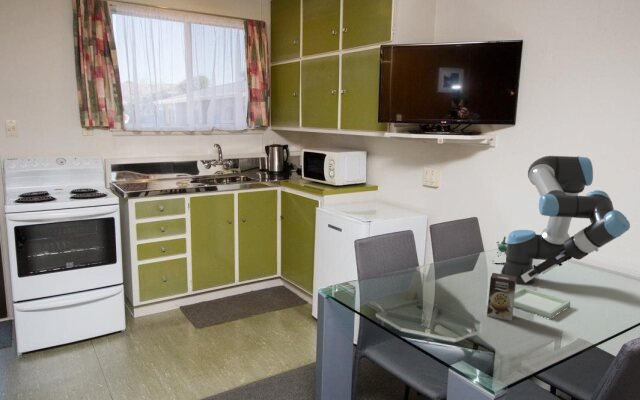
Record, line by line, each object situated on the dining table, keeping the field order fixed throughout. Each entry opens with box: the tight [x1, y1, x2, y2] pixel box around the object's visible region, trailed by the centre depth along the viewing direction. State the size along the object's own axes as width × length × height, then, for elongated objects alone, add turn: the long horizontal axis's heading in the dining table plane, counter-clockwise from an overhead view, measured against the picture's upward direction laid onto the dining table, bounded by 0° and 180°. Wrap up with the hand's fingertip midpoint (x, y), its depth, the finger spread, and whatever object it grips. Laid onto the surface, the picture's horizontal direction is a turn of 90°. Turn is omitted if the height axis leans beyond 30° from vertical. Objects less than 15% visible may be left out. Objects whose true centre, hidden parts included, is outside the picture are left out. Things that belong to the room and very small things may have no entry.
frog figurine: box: [496, 236, 508, 257], centre depth 245 cm, size 10×18×15 cm, turn 127°
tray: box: [513, 287, 571, 320], centre depth 190 cm, size 20×18×2 cm
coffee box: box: [486, 272, 517, 322], centre depth 178 cm, size 9×6×16 cm
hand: (532, 275), depth 168 cm, fingers open, 13 cm apart
